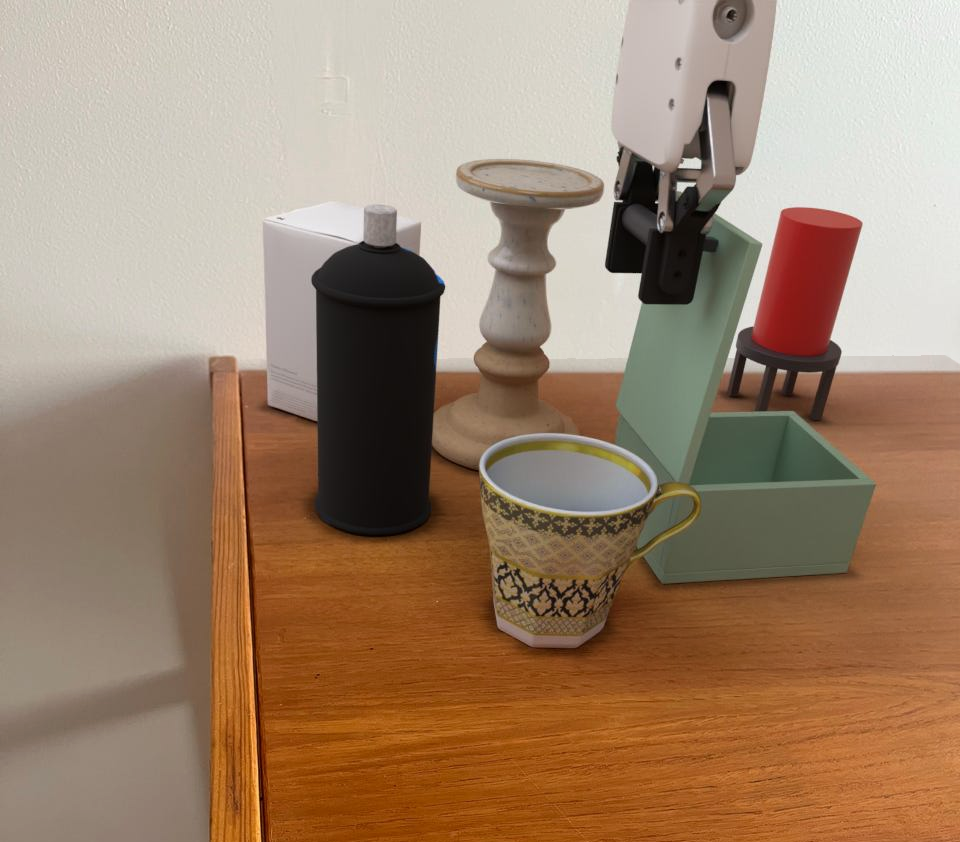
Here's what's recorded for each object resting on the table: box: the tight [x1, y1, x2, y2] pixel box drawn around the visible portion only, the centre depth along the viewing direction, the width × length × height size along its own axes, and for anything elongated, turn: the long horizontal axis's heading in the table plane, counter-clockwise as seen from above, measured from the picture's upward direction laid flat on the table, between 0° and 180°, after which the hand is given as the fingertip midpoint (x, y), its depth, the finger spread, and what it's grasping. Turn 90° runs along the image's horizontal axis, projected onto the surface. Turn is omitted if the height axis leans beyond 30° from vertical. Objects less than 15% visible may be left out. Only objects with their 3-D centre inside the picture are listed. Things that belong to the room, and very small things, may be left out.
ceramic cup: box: [478, 433, 701, 649], centre depth 60 cm, size 13×10×10 cm
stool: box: [726, 325, 843, 421], centre depth 92 cm, size 9×9×6 cm
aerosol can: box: [311, 204, 446, 537], centre depth 67 cm, size 8×8×20 cm
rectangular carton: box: [262, 200, 422, 422], centre depth 82 cm, size 9×9×15 cm
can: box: [752, 206, 863, 356], centre depth 88 cm, size 7×7×10 cm
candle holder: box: [432, 158, 605, 471], centre depth 77 cm, size 12×12×20 cm
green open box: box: [613, 410, 877, 585], centre depth 71 cm, size 14×12×7 cm
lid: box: [615, 190, 763, 484], centre depth 63 cm, size 14×12×5 cm
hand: (647, 283), depth 61 cm, fingers closed on lid, 5 cm apart
